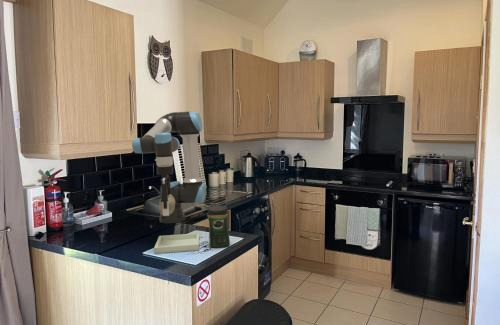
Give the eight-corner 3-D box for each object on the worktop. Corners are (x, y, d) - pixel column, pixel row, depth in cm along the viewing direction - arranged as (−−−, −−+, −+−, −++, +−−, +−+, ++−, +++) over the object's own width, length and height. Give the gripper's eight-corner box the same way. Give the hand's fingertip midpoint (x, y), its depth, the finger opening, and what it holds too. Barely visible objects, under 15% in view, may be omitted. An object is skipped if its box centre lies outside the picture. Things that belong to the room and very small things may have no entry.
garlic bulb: (170, 216, 185) (173, 196, 188) (179, 216, 179) (182, 195, 182) (152, 214, 180) (155, 193, 182) (161, 213, 173) (164, 191, 176)
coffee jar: (229, 242, 182) (228, 203, 180) (229, 247, 174) (228, 207, 173) (209, 243, 181) (207, 204, 180) (208, 248, 174) (206, 208, 172)
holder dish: (159, 241, 188) (159, 236, 188) (199, 238, 190) (199, 233, 190) (154, 254, 169) (154, 247, 169) (199, 250, 171) (198, 244, 171)
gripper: (159, 164, 190) (162, 209, 191) (152, 168, 168) (155, 218, 170) (175, 163, 191) (177, 208, 192) (170, 167, 169) (172, 217, 170)
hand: (167, 213), depth 181 cm, fingers closed on garlic bulb, 9 cm apart
